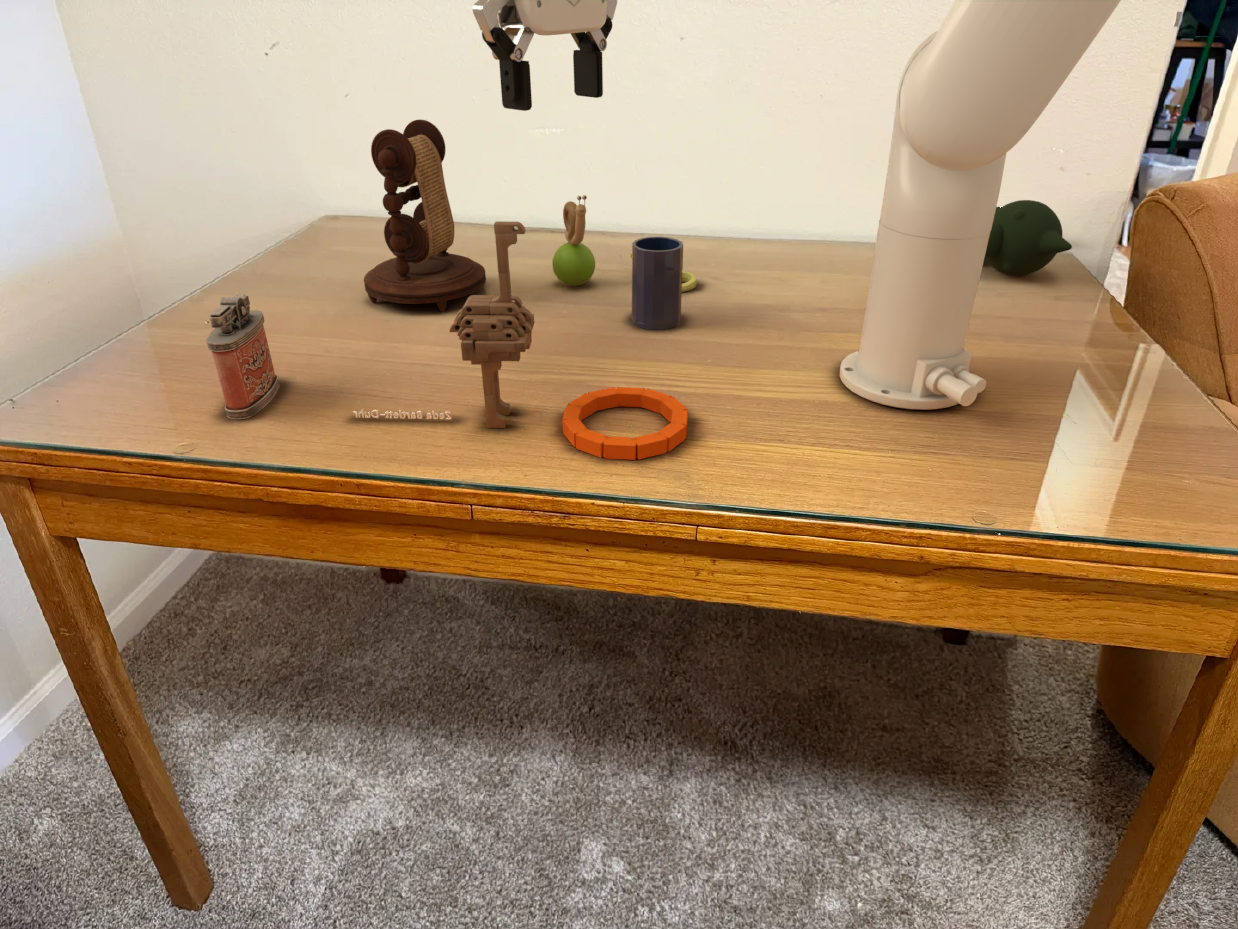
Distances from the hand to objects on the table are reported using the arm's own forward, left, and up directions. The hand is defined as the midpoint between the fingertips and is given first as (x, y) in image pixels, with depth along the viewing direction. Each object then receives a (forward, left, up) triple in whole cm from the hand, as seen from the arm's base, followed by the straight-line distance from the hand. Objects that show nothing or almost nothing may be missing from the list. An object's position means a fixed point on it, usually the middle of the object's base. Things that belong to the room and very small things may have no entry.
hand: (554, 102), depth 79 cm
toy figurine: (+5, -58, -20) cm, 62 cm away
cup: (+2, -12, -25) cm, 28 cm away
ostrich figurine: (-11, +16, -25) cm, 32 cm away
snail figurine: (+17, -8, -25) cm, 31 cm away
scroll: (+22, +10, -25) cm, 35 cm away
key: (+15, -19, -25) cm, 35 cm away
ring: (-20, +2, -25) cm, 32 cm away
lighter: (0, +32, -25) cm, 40 cm away
